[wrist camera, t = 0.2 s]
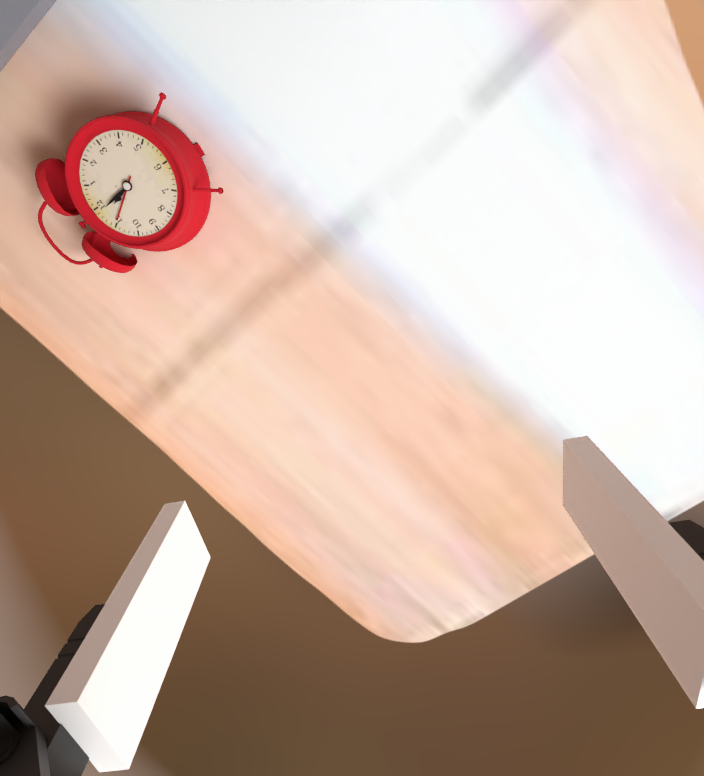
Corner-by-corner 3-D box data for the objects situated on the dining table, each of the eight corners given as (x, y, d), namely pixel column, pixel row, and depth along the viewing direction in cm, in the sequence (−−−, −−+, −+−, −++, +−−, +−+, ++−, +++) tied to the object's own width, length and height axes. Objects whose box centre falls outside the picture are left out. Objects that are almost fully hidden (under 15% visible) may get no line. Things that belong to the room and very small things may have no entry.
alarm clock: (237, 206, 34) (72, 307, 34) (241, 211, 40) (100, 297, 40) (149, 63, 30) (-37, 177, 30) (167, 92, 36) (12, 187, 36)
